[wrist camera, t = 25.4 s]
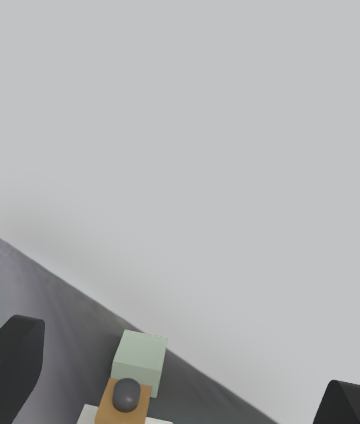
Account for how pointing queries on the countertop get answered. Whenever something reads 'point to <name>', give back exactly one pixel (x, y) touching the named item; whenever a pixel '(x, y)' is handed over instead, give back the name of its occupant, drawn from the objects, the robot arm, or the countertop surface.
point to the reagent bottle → (123, 402)
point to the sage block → (140, 359)
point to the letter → (90, 412)
